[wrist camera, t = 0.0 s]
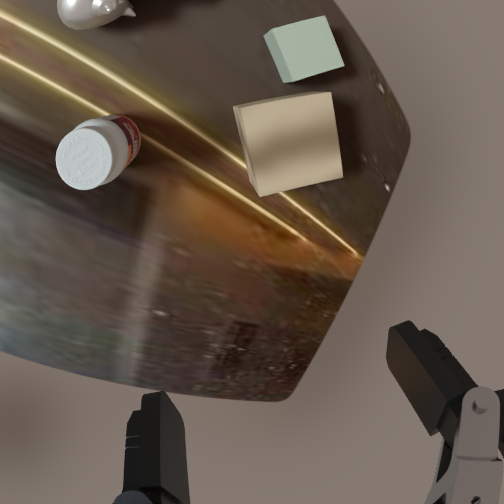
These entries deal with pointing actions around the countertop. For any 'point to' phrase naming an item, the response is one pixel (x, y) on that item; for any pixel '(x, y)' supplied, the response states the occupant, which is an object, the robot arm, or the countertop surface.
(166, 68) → the countertop surface
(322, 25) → the sage block
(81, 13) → the figurine
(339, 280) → the countertop surface
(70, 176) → the pill bottle
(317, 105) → the oak block
